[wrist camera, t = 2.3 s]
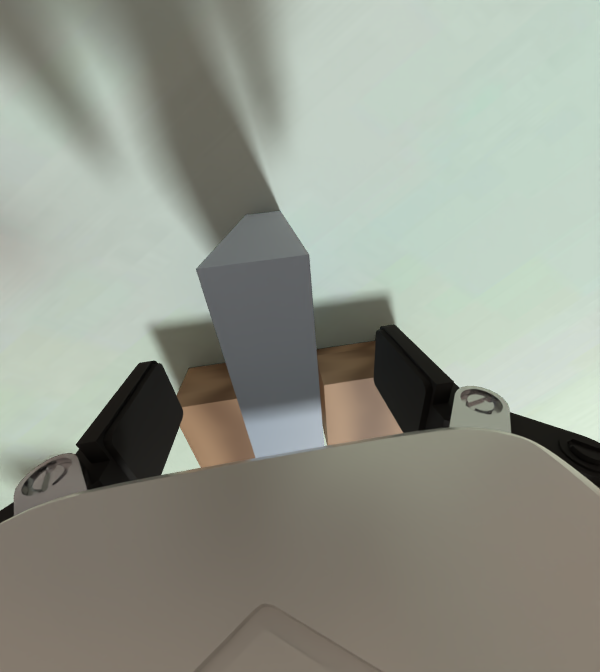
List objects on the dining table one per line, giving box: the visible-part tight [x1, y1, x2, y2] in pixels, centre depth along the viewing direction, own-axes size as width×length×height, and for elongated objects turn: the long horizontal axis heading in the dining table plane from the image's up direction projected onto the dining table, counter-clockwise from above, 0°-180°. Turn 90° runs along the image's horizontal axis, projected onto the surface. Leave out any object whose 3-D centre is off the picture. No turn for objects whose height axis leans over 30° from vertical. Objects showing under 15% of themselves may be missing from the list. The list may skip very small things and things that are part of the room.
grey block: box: [196, 211, 324, 458], centre depth 14 cm, size 2×10×14 cm, turn 6°
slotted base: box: [177, 341, 403, 468], centre depth 23 cm, size 20×8×5 cm, turn 96°
